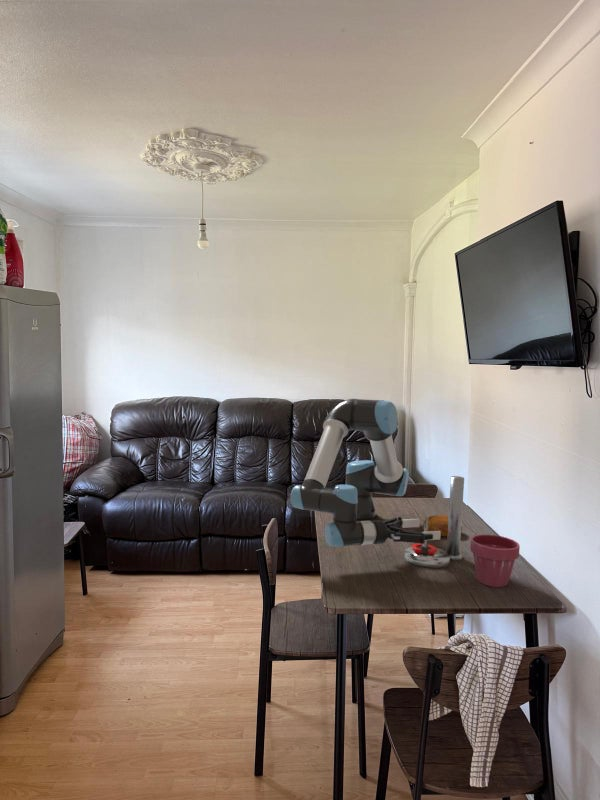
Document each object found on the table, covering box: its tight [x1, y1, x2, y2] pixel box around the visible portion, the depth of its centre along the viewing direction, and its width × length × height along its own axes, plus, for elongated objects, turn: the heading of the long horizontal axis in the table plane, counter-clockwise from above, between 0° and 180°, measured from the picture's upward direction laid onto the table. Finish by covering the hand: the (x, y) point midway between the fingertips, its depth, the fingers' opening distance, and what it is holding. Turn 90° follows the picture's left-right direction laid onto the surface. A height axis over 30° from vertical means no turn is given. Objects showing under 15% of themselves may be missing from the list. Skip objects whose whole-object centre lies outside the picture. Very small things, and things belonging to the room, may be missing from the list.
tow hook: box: [411, 516, 437, 555], centre depth 194 cm, size 8×13×9 cm
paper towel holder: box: [404, 475, 465, 569], centre depth 192 cm, size 15×21×28 cm
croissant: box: [421, 514, 463, 537], centre depth 222 cm, size 14×16×8 cm
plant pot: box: [469, 533, 521, 588], centre depth 175 cm, size 14×14×13 cm
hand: (429, 528), depth 191 cm, fingers open, 13 cm apart
